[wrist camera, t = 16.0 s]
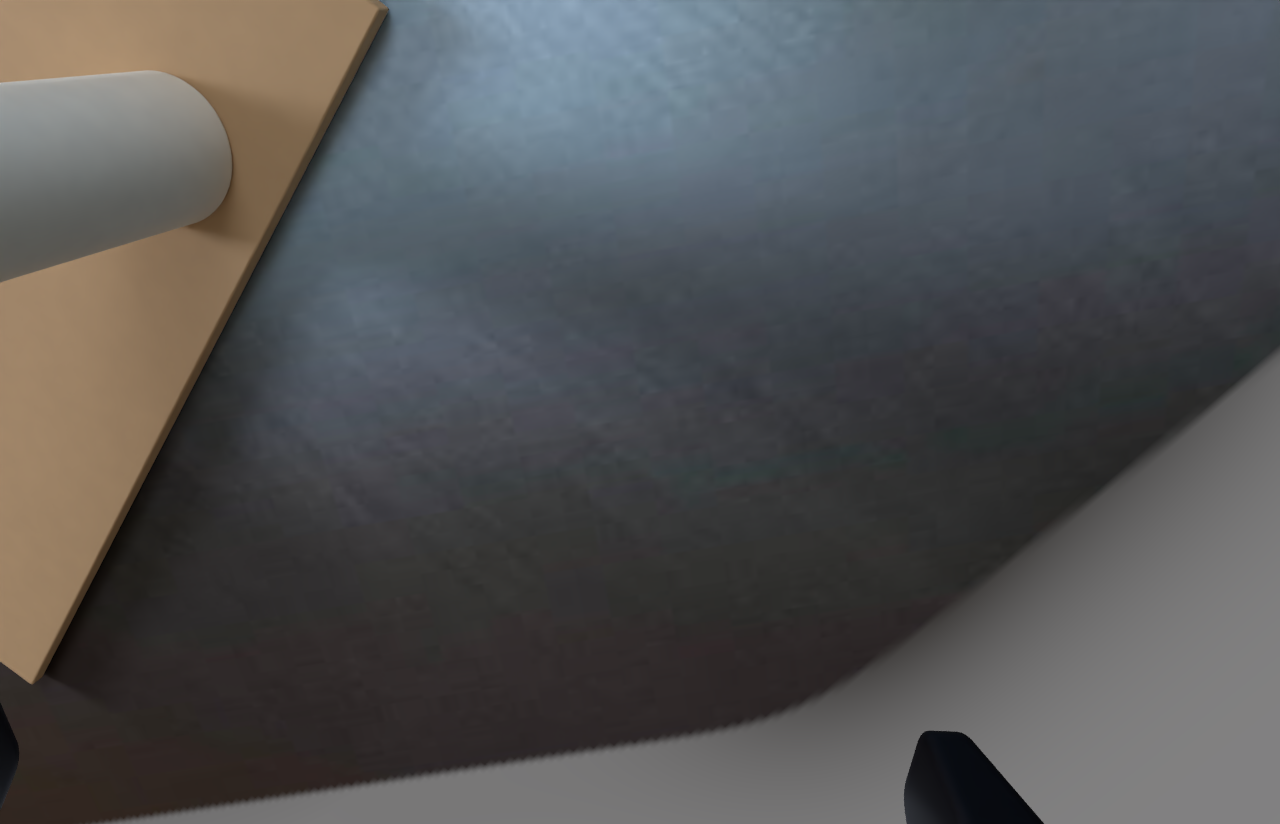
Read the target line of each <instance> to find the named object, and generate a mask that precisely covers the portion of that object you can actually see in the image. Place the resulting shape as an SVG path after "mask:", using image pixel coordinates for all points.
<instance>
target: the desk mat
mask: <svg viewBox="0 0 1280 824" xmlns="http://www.w3.org/2000/svg"><path fill="white" fill-rule="evenodd" d="M388 10H389V9H388V7H386V6H385V5H384V4H383V3H381V2H380V1H379V0H0V83H4V82H16V81H27V80H39V79H51V78H63V77H75V76H87V75H99V74H111V73H123V72H134V71H146V70H148V71H159V72H165V73H168V74H170V75H173V76H175V77H177V78H179V79H181V80H183V81H185V82H186V83H188V84H189V85H191V86H192V87H194V88H195V89H196V90H197V91H198V92H200V93H201V94H202V95H203V96H204V98H205V99H206V100H207V101H208V102H209V103H210V105H211V106H212V107H213V108H214V110H215V111H216V113H217V115H218V116H219V118H220V120H221V122H222V124H223V126H224V128H225V131H226V134H227V136H228V140H229V144H230V148H231V154H232V176H231V181H230V186H229V189H228V191H227V194H226V196H225V198H224V200H223V201H222V203H221V204H220V206H219V207H218V208H217V209H216V210H215V211H214V212H213V213H212V214H211V215H210V216H208V217H207V218H205V219H204V220H201V221H199V222H197V223H193V224H190V225H187V226H184V227H180V228H177V229H174V230H171V231H167V232H164V233H161V234H157V235H154V236H151V237H148V238H144V239H141V240H138V241H134V242H131V243H128V244H125V245H121V246H118V247H115V248H112V249H108V250H105V251H102V252H98V253H95V254H92V255H89V256H85V257H82V258H79V259H76V260H72V261H69V262H66V263H62V264H59V265H56V266H53V267H49V268H46V269H43V270H39V271H36V272H33V273H30V274H26V275H23V276H20V277H17V278H13V279H10V280H7V281H3V282H0V662H2V663H3V664H4V665H6V666H7V667H9V668H10V669H11V670H13V671H14V672H15V673H17V674H18V675H19V676H21V677H22V678H23V679H25V680H26V681H27V682H29V683H30V684H34V683H35V682H36V681H38V680H39V679H40V678H42V677H43V675H44V673H45V671H46V669H47V667H48V665H49V663H50V661H51V659H52V657H53V655H54V654H55V652H56V650H57V648H58V646H59V644H60V642H61V640H62V638H63V636H64V634H65V632H66V630H67V628H68V627H69V625H70V623H71V621H72V619H73V617H74V615H75V613H76V611H77V609H78V607H79V605H80V603H81V602H82V600H83V598H84V596H85V594H86V592H87V590H88V588H89V586H90V584H91V582H92V580H93V578H94V577H95V575H96V573H97V571H98V569H99V567H100V565H101V563H102V561H103V559H104V557H105V555H106V553H107V551H108V550H109V548H110V546H111V544H112V542H113V540H114V538H115V536H116V534H117V532H118V530H119V528H120V526H121V525H122V523H123V521H124V519H125V517H126V515H127V513H128V511H129V509H130V507H131V505H132V503H133V501H134V499H135V498H136V496H137V494H138V492H139V490H140V488H141V486H142V484H143V482H144V480H145V478H146V476H147V474H148V473H149V471H150V469H151V467H152V465H153V463H154V461H155V459H156V457H157V455H158V453H159V451H160V449H161V448H162V446H163V444H164V442H165V440H166V438H167V436H168V434H169V432H170V430H171V428H172V426H173V424H174V422H175V421H176V419H177V417H178V415H179V413H180V411H181V409H182V407H183V405H184V403H185V401H186V399H187V397H188V396H189V394H190V392H191V390H192V388H193V386H194V384H195V382H196V380H197V378H198V376H199V374H200V372H201V371H202V369H203V367H204V365H205V363H206V361H207V359H208V357H209V355H210V353H211V351H212V349H213V347H214V345H215V344H216V342H217V340H218V338H219V336H220V334H221V332H222V330H223V328H224V326H225V324H226V322H227V320H228V319H229V317H230V315H231V313H232V311H233V309H234V307H235V305H236V303H237V301H238V299H239V297H240V295H241V294H242V292H243V290H244V288H245V286H246V284H247V282H248V280H249V278H250V276H251V274H252V272H253V270H254V268H255V267H256V265H257V263H258V261H259V259H260V257H261V255H262V253H263V251H264V249H265V247H266V245H267V243H268V242H269V240H270V238H271V236H272V234H273V232H274V230H275V228H276V226H277V224H278V222H279V220H280V218H281V217H282V215H283V213H284V211H285V209H286V207H287V205H288V203H289V201H290V199H291V197H292V195H293V193H294V191H295V190H296V188H297V186H298V184H299V182H300V180H301V178H302V176H303V174H304V172H305V170H306V168H307V166H308V165H309V163H310V161H311V159H312V157H313V155H314V153H315V151H316V149H317V147H318V145H319V143H320V141H321V140H322V138H323V136H324V134H325V132H326V130H327V128H328V126H329V124H330V122H331V120H332V118H333V116H334V114H335V113H336V111H337V109H338V107H339V105H340V103H341V101H342V99H343V97H344V95H345V93H346V91H347V89H348V88H349V86H350V84H351V82H352V80H353V78H354V76H355V74H356V72H357V70H358V68H359V66H360V64H361V62H362V61H363V59H364V57H365V55H366V53H367V51H368V49H369V47H370V45H371V43H372V41H373V39H374V37H375V36H376V34H377V32H378V30H379V28H380V26H381V24H382V22H383V20H384V18H385V16H386V14H387V12H388Z"/></svg>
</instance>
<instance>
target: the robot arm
mask: <svg viewBox="0 0 1280 824" xmlns="http://www.w3.org/2000/svg"><path fill="white" fill-rule="evenodd" d="M18 761H19V747H18V743H17V740H16V738H15V736H14V733H13V731H12V729H11V726H10V724H9V722H8V719H7V717H6V715H5V712H4V710H3V708H2V705H1V703H0V809H1V807H2V804H3V802H4V799H5V797H6V795H7V792H8V790H9V787H10V785H11V782H12V780H13V777H14V775H15V772H16V769H17V765H18ZM904 806H905V814H906V822H907V824H1044V823H1043V822H1042V821H1041V820H1040V818H1039V817H1038V816H1037V815H1036V814H1035V813H1034V811H1033V810H1032V809H1031V808H1030V807H1029V806H1028V805H1027V803H1026V802H1025V801H1024V800H1023V799H1022V798H1021V796H1020V795H1019V794H1018V793H1017V792H1016V791H1015V789H1013V787H1012V786H1011V785H1010V784H1009V783H1008V782H1007V780H1006V779H1005V778H1004V777H1003V776H1002V774H1001V773H1000V772H999V771H998V770H997V769H996V767H995V766H994V765H993V764H992V763H991V762H990V761H989V759H988V758H987V757H986V756H985V755H984V754H983V752H982V751H981V750H980V749H979V748H978V747H977V746H976V745H975V743H974V742H973V741H972V740H971V739H970V738H969V737H968V736H966V735H965V734H963V733H960V732H949V731H948V732H947V731H926V732H924V733H923V734H922V735H921V736H920V738H919V740H918V743H917V746H916V750H915V753H914V756H913V759H912V763H911V766H910V769H909V773H908V776H907V779H906V783H905V789H904Z"/></svg>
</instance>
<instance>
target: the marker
mask: <svg viewBox="0 0 1280 824" xmlns="http://www.w3.org/2000/svg"><path fill="white" fill-rule="evenodd" d="M231 176H232V154H231V148H230V144H229V140H228V136H227V134H226V131H225V128H224V126H223V124H222V122H221V120H220V118H219V116H218V115H217V113H216V111H215V110H214V108H213V107H212V106H211V105H210V103H209V102H208V101H207V100H206V99H205V98H204V96H203V95H202V94H201V93H200V92H198V91H197V90H196V89H195V88H194V87H192V86H191V85H189V84H188V83H186V82H185V81H183V80H181V79H179V78H177V77H175V76H173V75H170V74H168V73H165V72H159V71H148V70H146V71H134V72H123V73H111V74H99V75H87V76H75V77H63V78H51V79H39V80H27V81H16V82H4V83H0V282H3V281H7V280H10V279H13V278H17V277H20V276H23V275H26V274H30V273H33V272H36V271H39V270H43V269H46V268H49V267H53V266H56V265H59V264H62V263H66V262H69V261H72V260H76V259H79V258H82V257H85V256H89V255H92V254H95V253H98V252H102V251H105V250H108V249H112V248H115V247H118V246H121V245H125V244H128V243H131V242H134V241H138V240H141V239H144V238H148V237H151V236H154V235H157V234H161V233H164V232H167V231H171V230H174V229H177V228H180V227H184V226H187V225H190V224H193V223H197V222H199V221H201V220H204V219H205V218H207V217H208V216H210V215H211V214H212V213H213V212H214V211H215V210H216V209H217V208H218V207H219V206H220V204H221V203H222V201H223V200H224V198H225V196H226V194H227V191H228V189H229V186H230V181H231Z"/></svg>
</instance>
